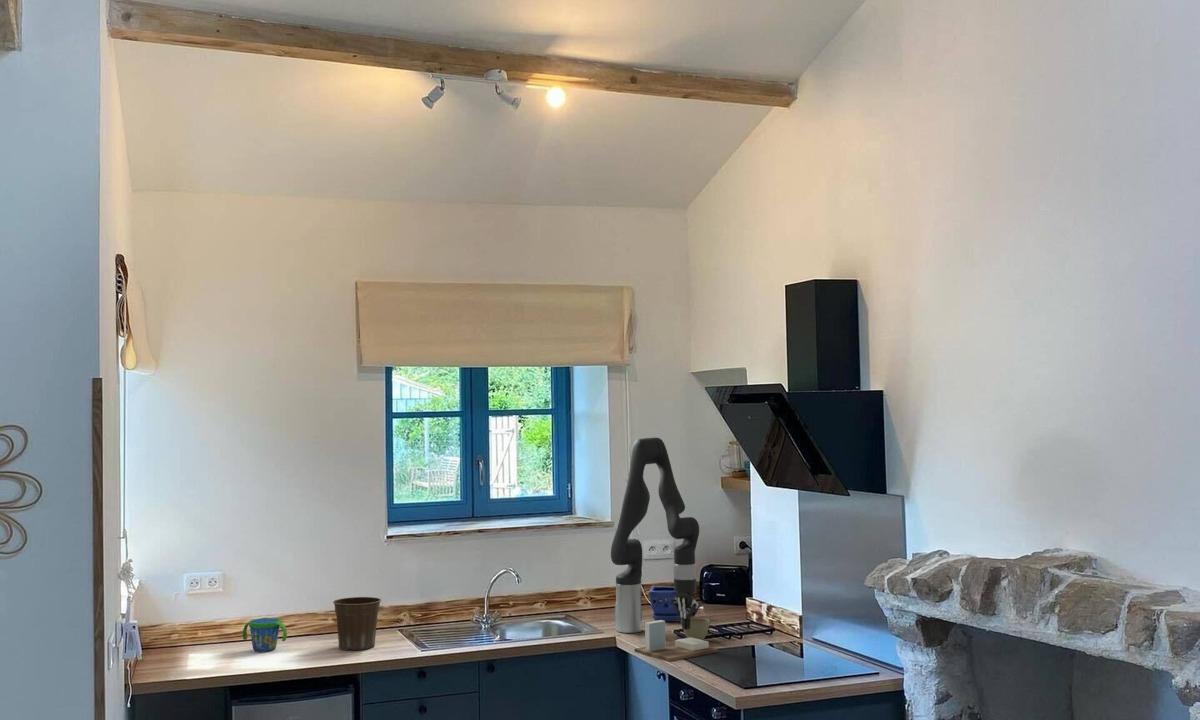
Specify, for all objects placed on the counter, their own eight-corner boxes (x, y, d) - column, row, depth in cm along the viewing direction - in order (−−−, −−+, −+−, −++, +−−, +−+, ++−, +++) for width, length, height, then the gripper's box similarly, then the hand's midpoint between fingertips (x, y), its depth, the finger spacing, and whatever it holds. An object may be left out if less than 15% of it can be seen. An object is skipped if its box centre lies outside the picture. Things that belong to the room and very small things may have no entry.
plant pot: (365, 640, 373) (365, 594, 374) (390, 646, 362) (390, 599, 363) (324, 647, 362) (324, 600, 363) (349, 654, 350) (348, 605, 351)
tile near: (645, 650, 345) (645, 622, 345) (661, 647, 349) (661, 620, 350) (649, 651, 343) (649, 623, 344) (665, 648, 347) (665, 620, 348)
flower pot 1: (652, 616, 411) (651, 585, 412) (686, 616, 409) (685, 585, 410) (649, 622, 398) (648, 590, 399) (684, 622, 396) (683, 591, 397)
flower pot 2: (708, 644, 357) (708, 623, 358) (679, 643, 359) (679, 622, 360) (711, 638, 367) (711, 617, 367) (683, 637, 369) (682, 617, 369)
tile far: (675, 640, 350) (692, 644, 342) (690, 637, 354) (708, 641, 347) (675, 646, 350) (692, 651, 342) (691, 643, 354) (708, 648, 346)
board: (634, 651, 347) (634, 648, 347) (682, 643, 359) (682, 640, 360) (669, 661, 333) (669, 658, 333) (718, 652, 345) (717, 648, 345)
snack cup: (293, 648, 362) (293, 618, 362) (275, 654, 352) (275, 624, 352) (254, 646, 366) (254, 616, 367) (235, 652, 356) (235, 622, 357)
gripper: (663, 576, 355) (665, 627, 354) (689, 580, 344) (690, 633, 343) (680, 574, 359) (681, 625, 358) (706, 578, 348) (707, 630, 347)
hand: (686, 629), depth 351 cm, fingers closed
